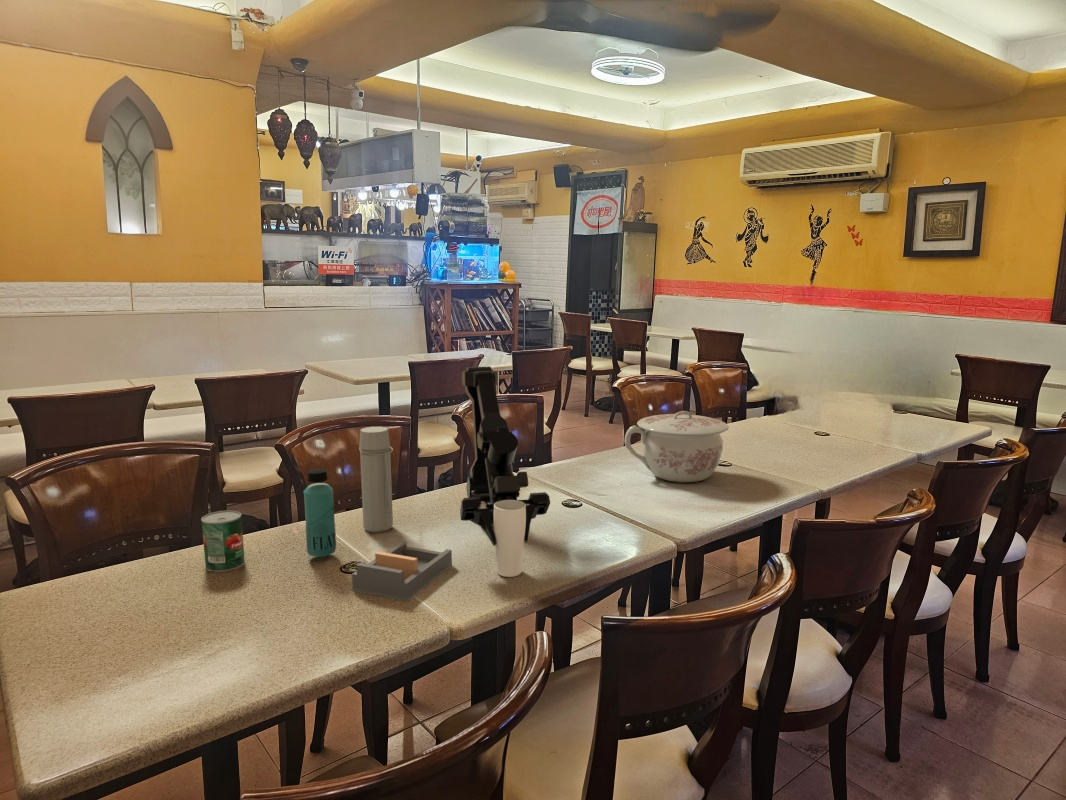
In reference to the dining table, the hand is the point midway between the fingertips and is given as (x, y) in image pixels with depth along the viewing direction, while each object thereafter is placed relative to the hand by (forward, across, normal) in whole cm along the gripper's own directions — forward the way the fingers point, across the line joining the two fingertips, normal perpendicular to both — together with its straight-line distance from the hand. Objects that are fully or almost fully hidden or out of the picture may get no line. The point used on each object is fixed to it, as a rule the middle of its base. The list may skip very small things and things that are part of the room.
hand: (510, 543), depth 147 cm
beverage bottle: (-8, -39, +18) cm, 44 cm away
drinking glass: (+4, 0, +6) cm, 7 cm away
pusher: (+3, -23, +6) cm, 24 cm away
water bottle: (-18, -26, +29) cm, 43 cm away
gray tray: (+2, -22, +8) cm, 23 cm away
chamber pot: (-37, +65, +47) cm, 88 cm away
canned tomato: (-8, -59, +19) cm, 62 cm away
